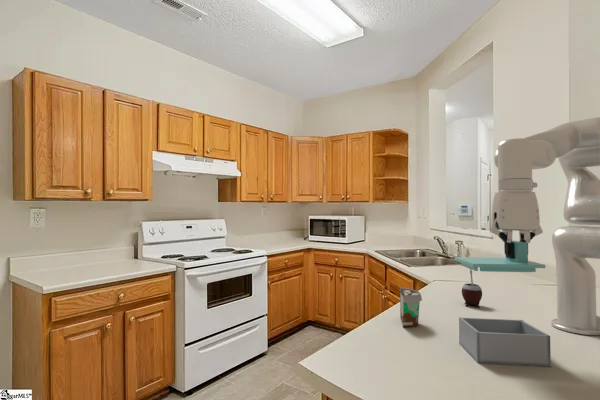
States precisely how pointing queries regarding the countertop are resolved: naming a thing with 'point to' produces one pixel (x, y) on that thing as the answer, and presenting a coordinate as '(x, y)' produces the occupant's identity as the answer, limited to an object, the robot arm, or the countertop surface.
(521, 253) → the lid
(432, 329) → the countertop surface
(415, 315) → the food container
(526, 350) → the tub
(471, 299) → the mate gourd
